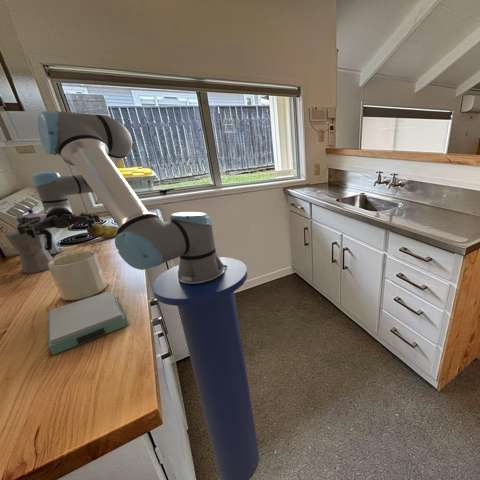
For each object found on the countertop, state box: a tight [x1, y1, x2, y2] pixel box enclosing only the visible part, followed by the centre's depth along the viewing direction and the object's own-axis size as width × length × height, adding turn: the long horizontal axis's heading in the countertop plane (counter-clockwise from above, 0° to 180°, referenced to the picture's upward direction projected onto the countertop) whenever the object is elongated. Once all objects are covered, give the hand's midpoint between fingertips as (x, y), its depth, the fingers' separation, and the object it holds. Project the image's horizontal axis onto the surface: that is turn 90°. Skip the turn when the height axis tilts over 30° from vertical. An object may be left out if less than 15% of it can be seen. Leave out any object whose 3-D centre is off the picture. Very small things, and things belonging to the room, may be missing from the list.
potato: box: [86, 223, 118, 239], centre depth 131 cm, size 8×13×8 cm, turn 133°
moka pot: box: [15, 208, 61, 256], centre depth 109 cm, size 10×15×20 cm, turn 33°
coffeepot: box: [4, 223, 54, 274], centre depth 97 cm, size 15×9×18 cm, turn 94°
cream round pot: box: [48, 250, 108, 301], centre depth 81 cm, size 11×11×12 cm
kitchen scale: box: [47, 290, 128, 356], centre depth 67 cm, size 14×19×3 cm
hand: (62, 228), depth 83 cm, fingers open, 13 cm apart
